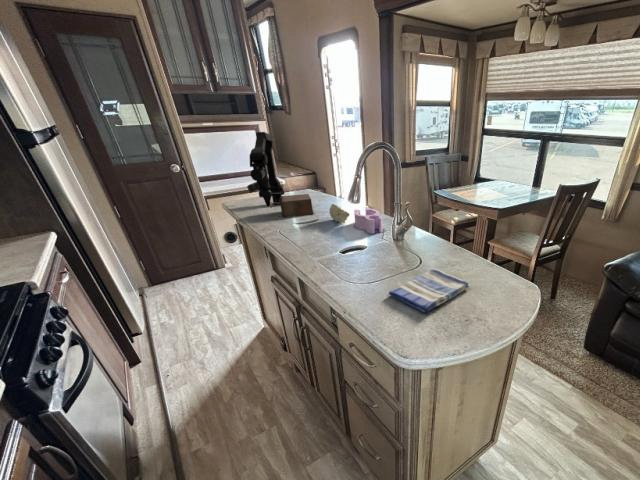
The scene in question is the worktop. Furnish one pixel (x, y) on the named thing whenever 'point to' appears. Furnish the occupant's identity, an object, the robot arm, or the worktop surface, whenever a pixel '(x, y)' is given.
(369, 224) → the clip
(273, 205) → the drawer
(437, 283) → the dish towel
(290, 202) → the cabinet
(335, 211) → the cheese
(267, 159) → the robot arm
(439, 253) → the worktop surface
